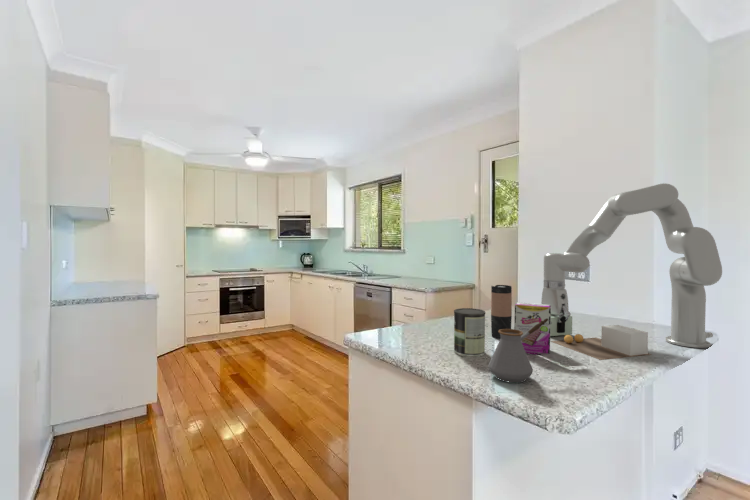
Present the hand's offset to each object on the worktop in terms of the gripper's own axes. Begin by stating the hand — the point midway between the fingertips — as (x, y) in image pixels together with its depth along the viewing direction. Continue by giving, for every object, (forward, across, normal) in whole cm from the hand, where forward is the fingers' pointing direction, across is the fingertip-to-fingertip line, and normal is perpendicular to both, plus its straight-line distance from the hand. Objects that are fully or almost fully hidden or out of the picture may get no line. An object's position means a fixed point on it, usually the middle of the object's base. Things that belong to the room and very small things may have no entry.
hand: (553, 329), depth 146 cm
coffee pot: (+3, -33, +38) cm, 50 cm away
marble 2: (0, -12, 0) cm, 13 cm away
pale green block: (+1, 0, 0) cm, 1 cm away
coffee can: (+3, -10, +42) cm, 43 cm away
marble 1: (0, -12, +4) cm, 13 cm away
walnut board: (+3, -20, -1) cm, 20 cm away
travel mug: (+3, +5, +20) cm, 21 cm away
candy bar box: (+3, -16, +22) cm, 27 cm away
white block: (+2, -24, -7) cm, 25 cm away
